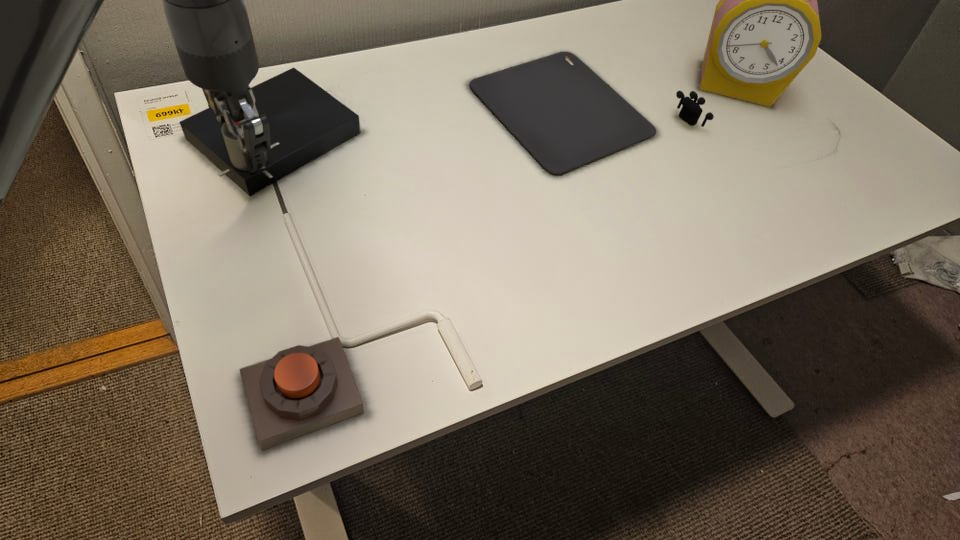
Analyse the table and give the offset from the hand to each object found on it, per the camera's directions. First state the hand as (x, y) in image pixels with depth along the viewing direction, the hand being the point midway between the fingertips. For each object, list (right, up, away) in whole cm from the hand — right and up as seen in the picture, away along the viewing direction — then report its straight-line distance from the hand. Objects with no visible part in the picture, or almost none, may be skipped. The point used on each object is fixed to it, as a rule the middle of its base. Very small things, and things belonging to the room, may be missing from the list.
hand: (247, 156), depth 75 cm
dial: (0, 0, 0) cm, 1 cm away
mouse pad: (+41, +10, +17) cm, 46 cm away
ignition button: (+11, -25, -17) cm, 32 cm away
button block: (+11, -27, -14) cm, 32 cm away
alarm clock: (+71, +16, +25) cm, 77 cm away
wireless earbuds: (+60, +8, +18) cm, 63 cm away
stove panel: (+1, +3, +7) cm, 8 cm away
